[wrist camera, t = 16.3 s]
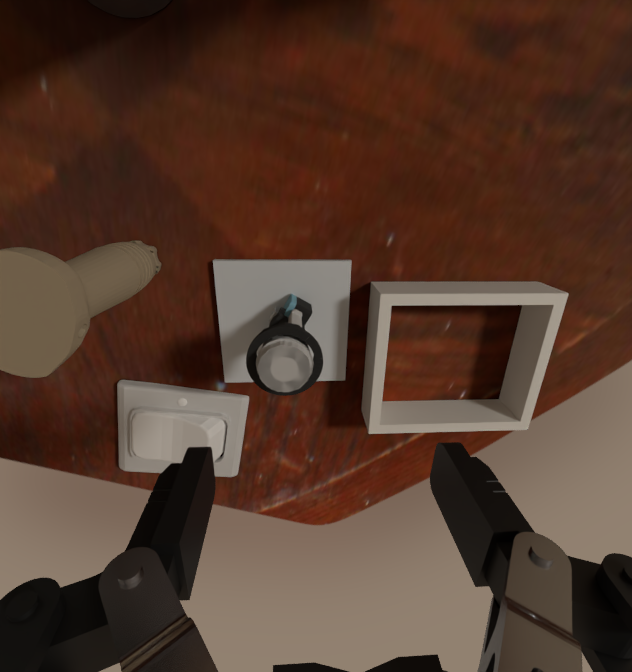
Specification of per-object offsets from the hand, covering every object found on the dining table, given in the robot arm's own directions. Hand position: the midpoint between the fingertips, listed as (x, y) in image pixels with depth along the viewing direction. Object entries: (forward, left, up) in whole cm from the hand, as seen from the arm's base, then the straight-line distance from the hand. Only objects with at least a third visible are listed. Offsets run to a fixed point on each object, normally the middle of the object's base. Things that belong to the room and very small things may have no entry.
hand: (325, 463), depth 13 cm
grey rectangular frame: (+14, -6, -22) cm, 26 cm away
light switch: (-13, -15, -23) cm, 30 cm away
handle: (-14, +3, -22) cm, 26 cm away
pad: (-2, -3, -22) cm, 22 cm away
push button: (-2, -3, -21) cm, 22 cm away
